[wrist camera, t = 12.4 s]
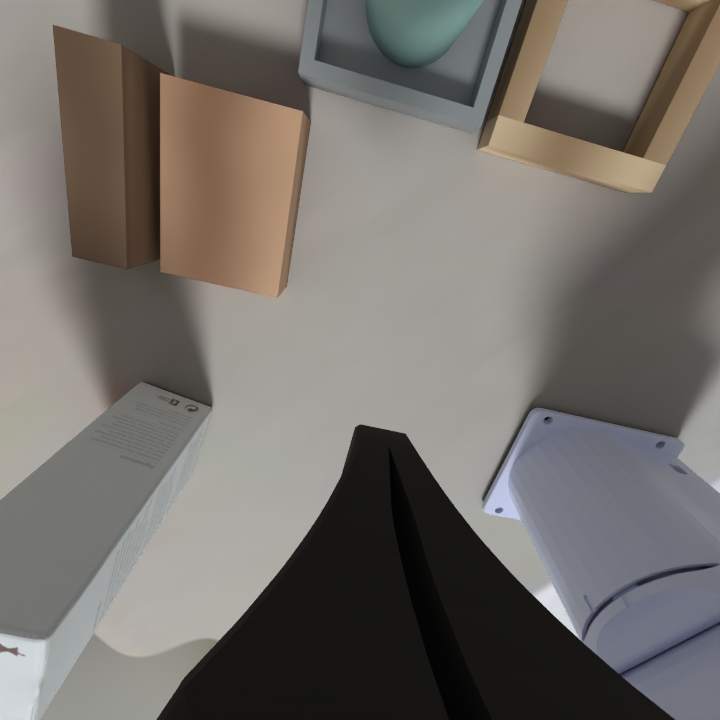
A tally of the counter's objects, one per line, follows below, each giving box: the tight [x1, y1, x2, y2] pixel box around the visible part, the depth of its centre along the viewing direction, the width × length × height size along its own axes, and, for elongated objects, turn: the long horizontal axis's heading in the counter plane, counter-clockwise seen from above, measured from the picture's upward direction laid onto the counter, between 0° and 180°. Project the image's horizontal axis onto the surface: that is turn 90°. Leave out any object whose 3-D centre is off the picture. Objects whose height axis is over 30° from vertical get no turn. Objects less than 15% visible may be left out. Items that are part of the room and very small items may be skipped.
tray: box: [298, 0, 522, 133], centre depth 13 cm, size 7×6×2 cm
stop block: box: [53, 25, 171, 269], centre depth 14 cm, size 2×7×4 cm, turn 166°
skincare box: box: [0, 382, 212, 720], centre depth 16 cm, size 6×4×12 cm
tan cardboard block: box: [160, 73, 311, 298], centre depth 15 cm, size 5×7×2 cm
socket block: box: [477, 0, 720, 193], centre depth 13 cm, size 7×7×2 cm
